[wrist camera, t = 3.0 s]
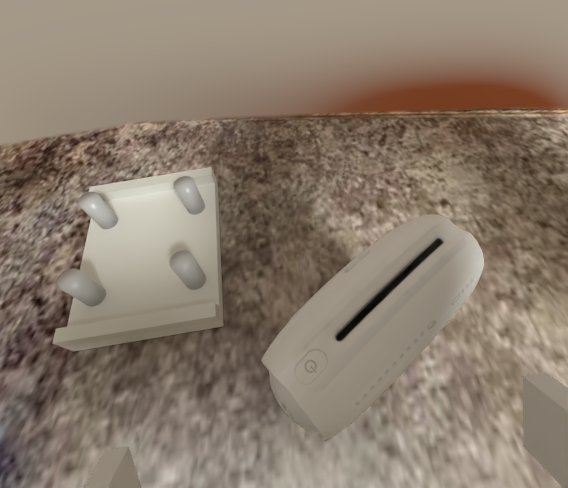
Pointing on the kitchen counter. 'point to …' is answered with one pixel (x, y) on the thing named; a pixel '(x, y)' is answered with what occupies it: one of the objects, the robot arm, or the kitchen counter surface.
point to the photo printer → (371, 322)
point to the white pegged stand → (146, 262)
